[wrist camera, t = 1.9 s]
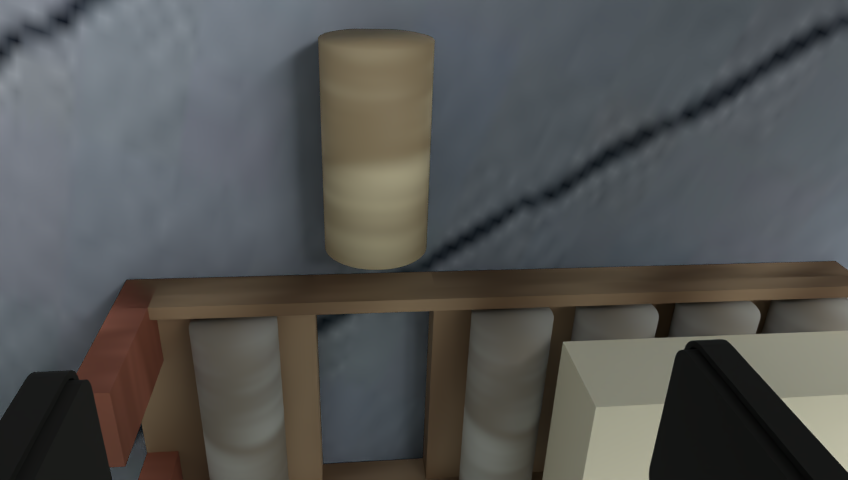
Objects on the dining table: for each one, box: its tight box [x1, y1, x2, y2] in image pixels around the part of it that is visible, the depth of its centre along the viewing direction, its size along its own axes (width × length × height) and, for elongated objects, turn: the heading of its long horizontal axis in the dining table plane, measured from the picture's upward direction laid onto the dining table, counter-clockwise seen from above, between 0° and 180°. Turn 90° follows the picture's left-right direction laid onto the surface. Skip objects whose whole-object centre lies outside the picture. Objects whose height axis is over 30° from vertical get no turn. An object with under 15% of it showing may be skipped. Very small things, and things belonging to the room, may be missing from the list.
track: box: [77, 261, 848, 480], centre depth 26 cm, size 28×10×6 cm, turn 88°
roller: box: [318, 29, 435, 270], centre depth 23 cm, size 7×4×4 cm, turn 178°
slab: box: [542, 331, 848, 480], centre depth 25 cm, size 12×8×4 cm, turn 88°
